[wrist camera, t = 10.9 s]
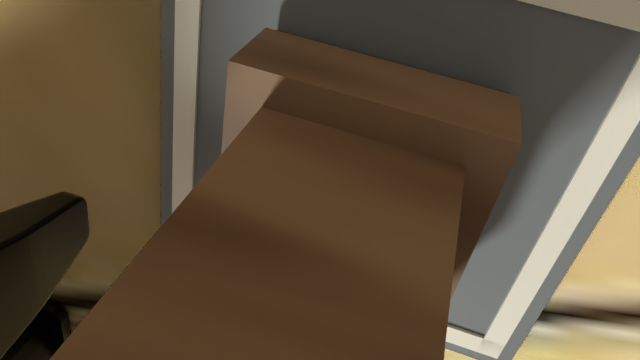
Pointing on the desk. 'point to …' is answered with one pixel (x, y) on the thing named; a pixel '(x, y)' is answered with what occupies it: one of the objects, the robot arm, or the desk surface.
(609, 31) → the marked board
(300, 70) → the stamp
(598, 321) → the desk surface
